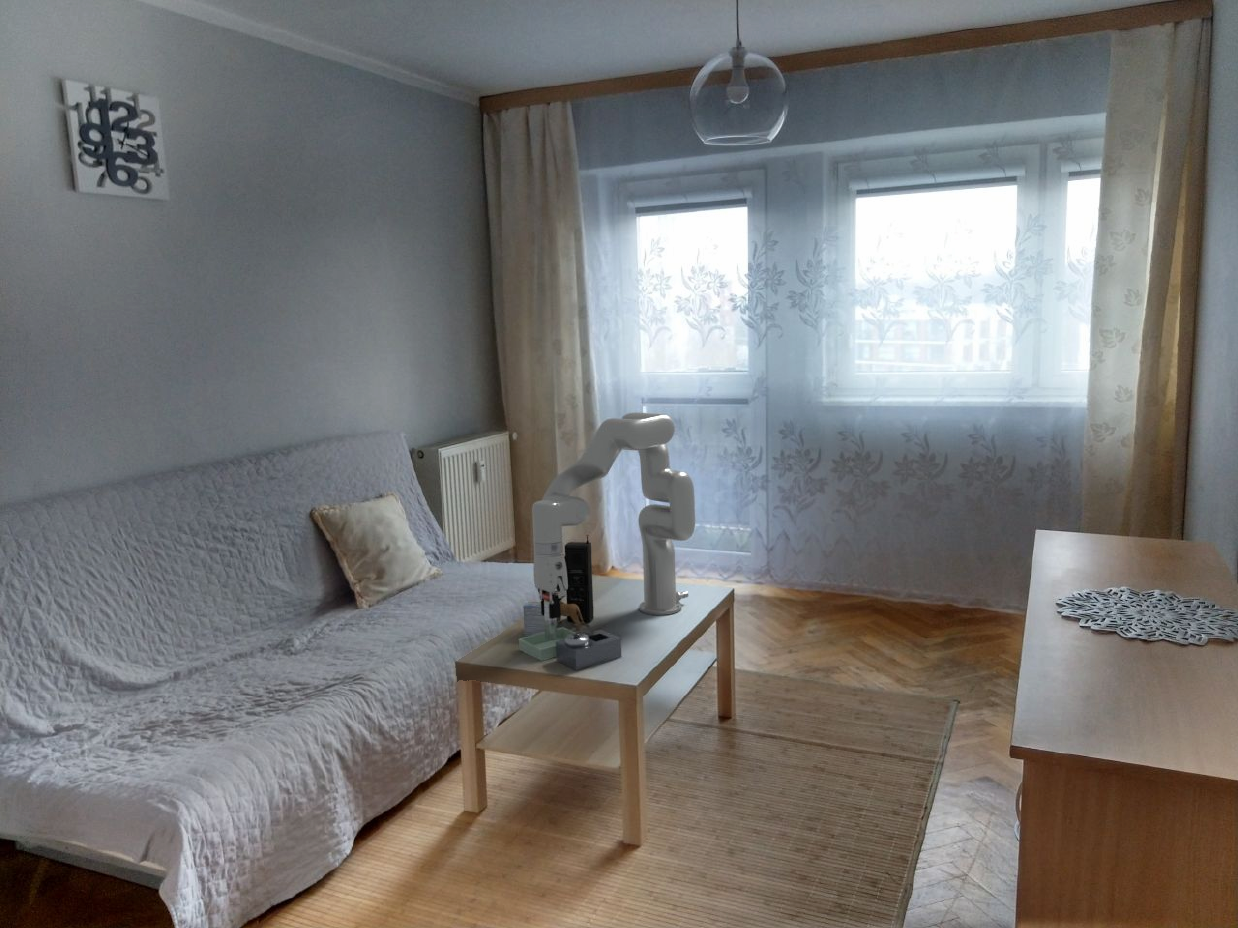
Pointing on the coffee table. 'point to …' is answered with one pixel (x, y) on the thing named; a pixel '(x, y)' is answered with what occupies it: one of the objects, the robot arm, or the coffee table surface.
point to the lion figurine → (571, 614)
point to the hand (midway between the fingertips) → (551, 615)
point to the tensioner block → (588, 649)
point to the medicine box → (533, 619)
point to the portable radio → (579, 578)
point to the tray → (542, 644)
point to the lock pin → (549, 623)
